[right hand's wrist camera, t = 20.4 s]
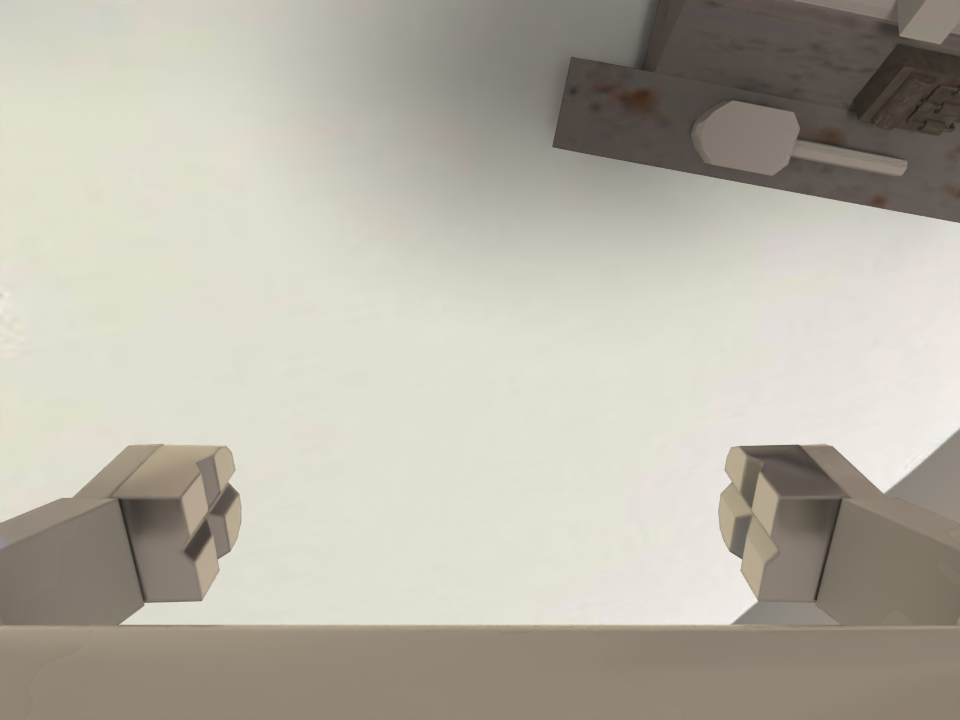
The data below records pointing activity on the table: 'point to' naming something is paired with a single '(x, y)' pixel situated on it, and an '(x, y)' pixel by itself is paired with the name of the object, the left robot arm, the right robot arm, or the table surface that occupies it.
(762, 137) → the toy
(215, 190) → the table surface
